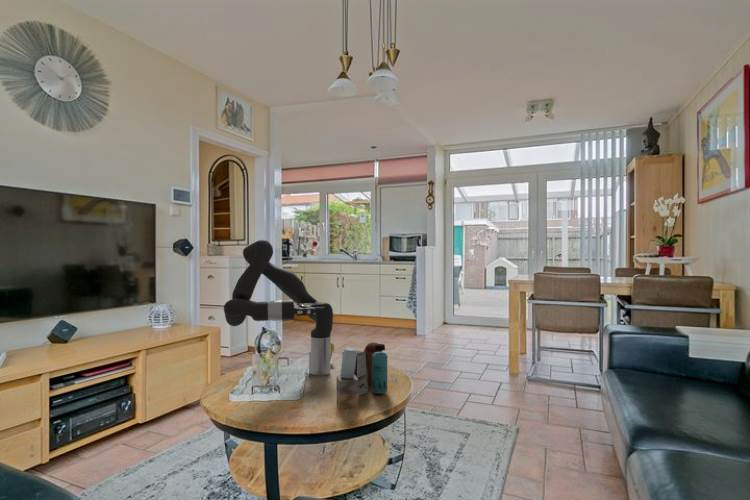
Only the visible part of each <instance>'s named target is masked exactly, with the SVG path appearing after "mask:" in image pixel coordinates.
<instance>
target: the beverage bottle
mask: <svg viewBox="0 0 750 500" xmlns="http://www.w3.org/2000/svg"><path fill="white" fill-rule="evenodd" d="M375 350H377V351H382V352H375V353H374V354H373V355H372V373H371V374H372V376H371V377H372V379H371V386H370V387H371V392H372V393H375V394H384V393H386V392H387V391H388V387H389V386H388V371H389V370H388V356H389V355H388V354H387V353H385V352H383V351H385V350H386V346H385V344H383V343H378V344H376V345H375Z"/></svg>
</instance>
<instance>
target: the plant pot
mask: <svg viewBox="0 0 750 500" xmlns="http://www.w3.org/2000/svg"><path fill="white" fill-rule="evenodd" d="M334 351H335V343H332V342H331V349H330V362H331V361H332V356H333V353H334Z"/></svg>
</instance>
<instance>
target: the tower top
mask: <svg viewBox="0 0 750 500" xmlns="http://www.w3.org/2000/svg"><path fill="white" fill-rule="evenodd" d="M337 391H338V393H339V395H346V394H358V391H359V380H358V378H357V377H356V376H355V374H354V378H352V379H348V378H343V377H341V376H340V375H336V392H337Z"/></svg>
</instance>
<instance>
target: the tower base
mask: <svg viewBox="0 0 750 500" xmlns="http://www.w3.org/2000/svg"><path fill="white" fill-rule="evenodd" d="M336 404H337V407H338V409H353V408H354V409H355V408H359V396H358V394H346V395H339V393H338V391H337V390H336Z"/></svg>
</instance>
